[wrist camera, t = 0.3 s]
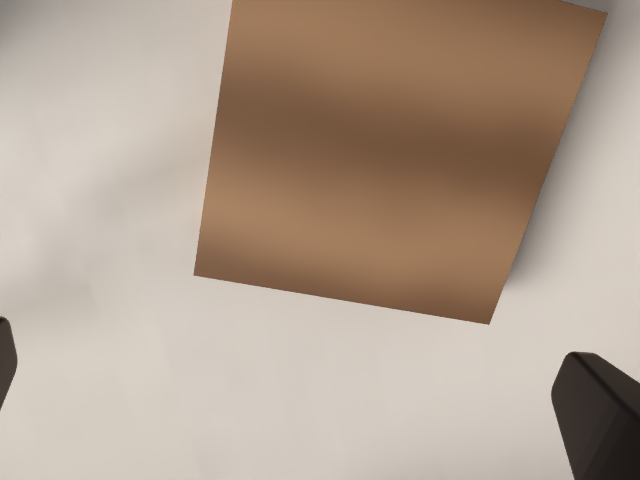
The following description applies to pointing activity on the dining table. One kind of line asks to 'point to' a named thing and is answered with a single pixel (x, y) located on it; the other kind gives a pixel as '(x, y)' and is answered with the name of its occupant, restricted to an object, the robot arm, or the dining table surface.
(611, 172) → the dining table surface
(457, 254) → the walnut slab
